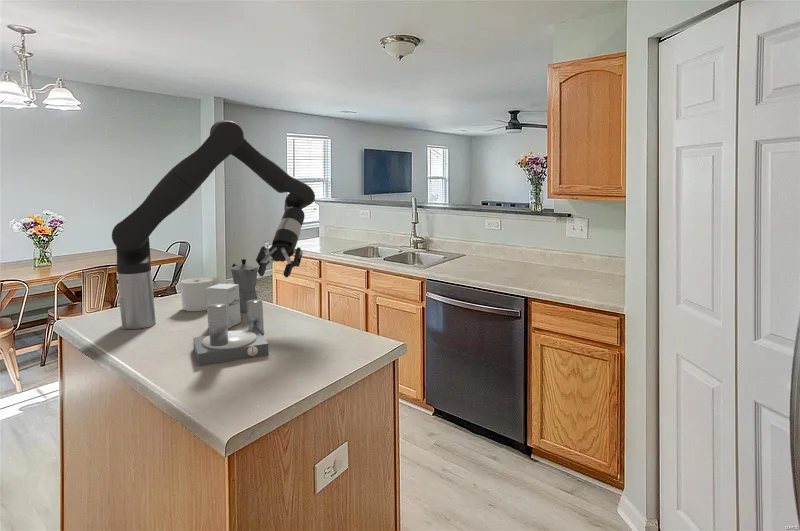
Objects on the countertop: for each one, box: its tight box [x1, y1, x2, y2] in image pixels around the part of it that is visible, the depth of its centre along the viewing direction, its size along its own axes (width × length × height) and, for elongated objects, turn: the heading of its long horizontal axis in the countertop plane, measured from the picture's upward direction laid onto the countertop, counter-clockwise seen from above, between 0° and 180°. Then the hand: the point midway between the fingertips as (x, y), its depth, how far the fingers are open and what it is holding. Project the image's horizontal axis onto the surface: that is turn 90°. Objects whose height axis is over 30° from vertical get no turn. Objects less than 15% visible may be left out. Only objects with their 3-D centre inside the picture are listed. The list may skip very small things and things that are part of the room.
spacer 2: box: [246, 299, 265, 336], centre depth 144 cm, size 4×4×10 cm
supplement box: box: [206, 283, 242, 330], centre depth 153 cm, size 7×7×13 cm
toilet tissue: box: [180, 276, 221, 312], centre depth 175 cm, size 11×12×10 cm
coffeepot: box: [230, 258, 259, 314], centre depth 172 cm, size 15×9×18 cm, turn 44°
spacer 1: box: [207, 304, 229, 346], centre depth 125 cm, size 4×4×10 cm
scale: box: [192, 329, 269, 366], centre depth 130 cm, size 17×14×4 cm
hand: (272, 275), depth 154 cm, fingers open, 8 cm apart
